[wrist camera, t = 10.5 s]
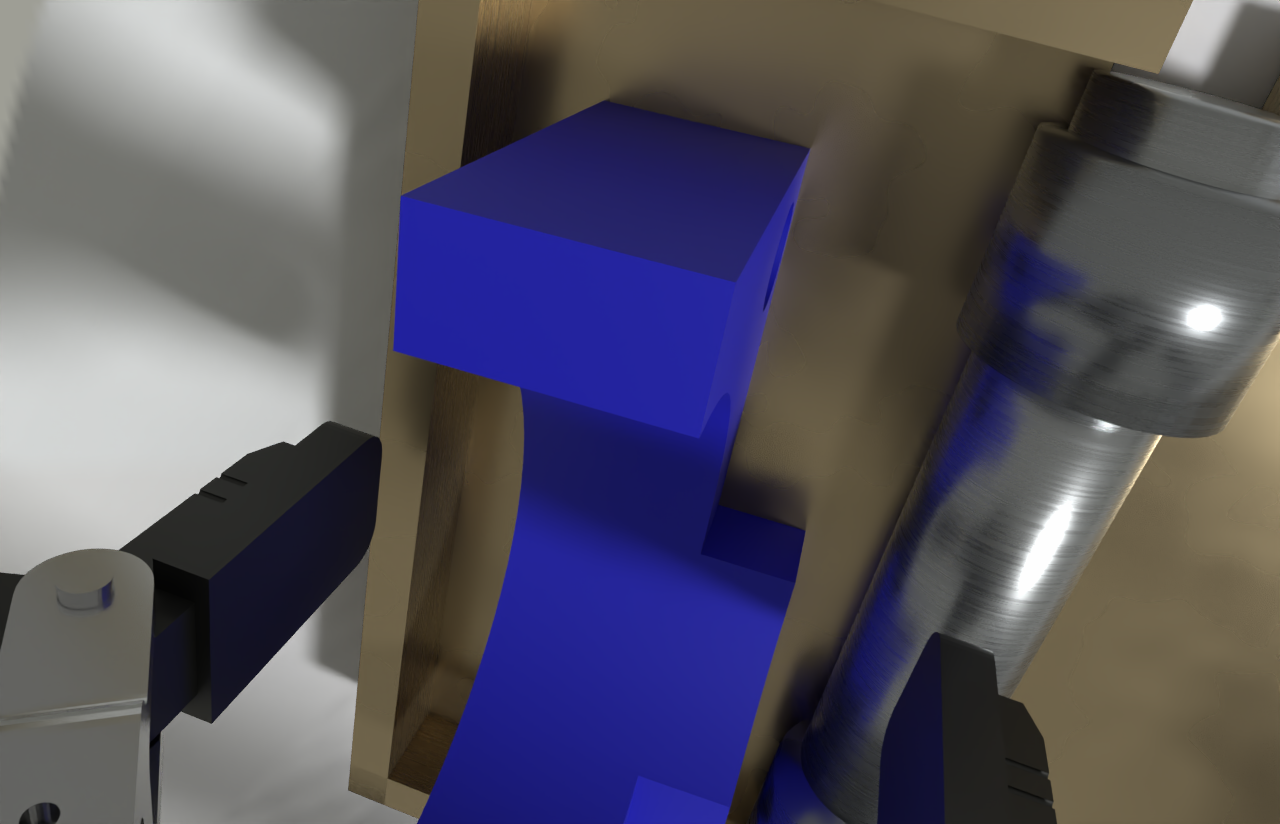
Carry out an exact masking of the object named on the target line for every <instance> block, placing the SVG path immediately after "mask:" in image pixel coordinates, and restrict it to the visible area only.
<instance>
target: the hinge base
mask: <svg viewBox="0 0 1280 824" xmlns="http://www.w3.org/2000/svg"><path fill="white" fill-rule="evenodd" d="M1192 1H1193V0H419V2H418V13H417V24H416V36H415V47H414V58H413V69H412V81H411V92H410V103H409V114H408V126H407V137H406V148H405V159H404V170H403V182H402V193H401V195H403V194H406V193H408V192H410V191H412V190H414V189H416V188H418V187H420V186H423V185H425V184H427V183H429V182H431V181H433V180H435V179H437V178H440V177H442V176H444V175H446V174H448V173H450V172H452V171H455V170H457V169H459V168H461V167H463V166H465V165H467V164H469V163H472V162H474V161H476V160H478V159H480V158H482V157H484V156H486V155H489V154H491V153H493V152H495V151H497V150H499V149H501V148H503V147H506V146H508V145H510V144H512V143H514V142H516V141H518V140H521V139H523V138H525V137H527V136H529V135H531V134H533V133H535V132H538V131H540V130H542V129H544V128H546V127H548V126H550V125H552V124H555V123H557V122H559V121H561V120H563V119H565V118H567V117H569V116H572V115H574V114H576V113H578V112H580V111H582V110H584V109H587V108H589V107H591V106H593V105H595V104H597V103H599V102H601V101H604V100H605V101H609V102H613V103H617V104H622V105H626V106H630V107H634V108H639V109H643V110H647V111H652V112H656V113H660V114H664V115H669V116H673V117H677V118H682V119H686V120H690V121H694V122H699V123H703V124H707V125H711V126H716V127H720V128H724V129H729V130H733V131H737V132H741V133H746V134H750V135H754V136H758V137H763V138H767V139H771V140H776V141H780V142H784V143H788V144H793V145H797V146H801V147H805V148H810V152H809V156H808V160H807V164H806V168H805V172H804V176H803V180H802V183H801V187H800V191H799V195H798V199H797V203H796V207H795V211H794V214H793V218H792V222H791V226H790V230H789V234H788V238H787V242H786V245H785V249H784V253H783V257H782V261H781V265H780V269H779V272H778V276H777V280H776V284H775V288H774V292H773V296H772V300H771V303H770V307H769V311H768V315H767V319H766V323H765V327H764V331H763V334H762V338H761V342H760V346H759V350H758V354H757V358H756V362H755V365H754V369H753V373H752V377H751V381H750V385H749V389H748V393H747V396H746V400H745V404H744V408H743V412H742V416H741V420H740V424H739V427H738V431H737V435H736V439H735V443H734V447H733V451H732V455H731V458H730V462H729V466H728V470H727V474H726V478H725V482H724V486H723V489H722V493H721V497H720V501H719V505H721V506H724V507H728V508H731V509H734V510H738V511H741V512H744V513H748V514H751V515H755V516H758V517H761V518H765V519H768V520H771V521H775V522H778V523H781V524H785V525H788V526H791V527H795V528H798V529H801V530H805V531H806V532H805V537H804V543H803V548H802V553H801V558H800V563H799V568H798V573H797V578H796V583H795V586H794V589H793V593H792V596H791V599H790V602H789V605H788V608H787V612H786V615H785V618H784V621H783V624H782V628H781V631H780V634H779V638H778V641H777V644H776V647H775V651H774V654H773V658H772V661H771V664H770V668H769V671H768V674H767V678H766V681H765V685H764V688H763V692H762V695H761V698H760V702H759V705H758V709H757V712H756V716H755V719H754V723H753V726H752V730H751V734H750V737H749V741H748V744H747V748H746V751H745V755H744V759H743V762H742V766H741V770H740V773H739V777H738V781H737V784H736V788H735V792H734V795H733V799H732V803H731V807H730V810H729V813H728V816H727V819H726V822H725V824H877V816H878V796H879V777H880V759H881V750H882V745H883V740H884V736H885V732H886V728H887V725H888V722H889V719H890V717H891V714H892V712H893V710H894V708H895V706H896V704H897V702H898V699H899V697H900V695H901V693H902V691H903V689H904V687H905V685H906V683H907V681H908V679H909V677H910V675H911V673H912V671H913V669H914V667H915V665H916V663H917V661H918V659H919V657H920V655H921V653H922V651H923V649H924V647H925V645H926V643H927V641H928V639H929V638H930V636H931V635H932V634H933V633H934V632H938V633H941V634H944V635H947V636H950V637H953V638H956V639H959V640H962V641H964V642H967V643H970V644H973V645H976V646H979V647H982V648H985V649H988V650H990V651H992V652H993V654H994V658H995V665H996V675H997V685H998V695H1001V696H1004V697H1007V698H1010V699H1013V700H1016V701H1018V702H1021V703H1023V704H1024V706H1025V707H1026V709H1027V711H1028V712H1029V714H1030V716H1031V717H1032V719H1033V721H1034V723H1035V724H1036V726H1037V728H1038V729H1039V731H1040V733H1041V735H1042V736H1043V738H1044V742H1045V748H1046V755H1047V761H1048V768H1049V775H1048V779H1049V780H1050V781H1051V787H1052V794H1053V800H1054V802H1053V805H1052V808H1053V809H1055V813H1056V819H1057V824H1280V76H1279V78H1278V79H1277V81H1276V83H1275V85H1274V87H1273V89H1272V91H1271V93H1270V95H1269V96H1268V98H1267V100H1266V102H1265V104H1264V106H1263V108H1262V109H1259V108H1255V107H1252V106H1249V105H1245V104H1242V103H1238V102H1235V101H1231V100H1228V99H1224V98H1221V97H1217V96H1214V95H1210V94H1206V93H1202V92H1199V91H1195V90H1191V89H1187V88H1184V87H1180V86H1176V85H1172V84H1168V83H1164V82H1160V81H1156V80H1151V79H1147V78H1143V77H1138V76H1134V75H1129V74H1124V73H1119V72H1114V71H1111V69H1112V67H1113V64H1114V63H1117V64H1121V65H1125V66H1129V67H1133V68H1137V69H1141V70H1145V71H1149V72H1153V73H1156V74H1159V72H1160V70H1161V68H1162V65H1163V63H1164V61H1165V59H1166V57H1167V55H1168V53H1169V50H1170V48H1171V46H1172V44H1173V42H1174V40H1175V38H1176V36H1177V33H1178V31H1179V29H1180V27H1181V25H1182V23H1183V21H1184V18H1185V16H1186V14H1187V12H1188V10H1189V8H1190V6H1191V3H1192ZM399 222H400V215H399ZM398 242H399V227H398V238H397V249H396V260H395V272H394V283H393V294H392V305H391V316H390V328H389V339H388V350H387V361H386V373H385V384H384V395H383V406H382V418H381V429H380V441H381V443H382V461H381V472H380V483H379V494H378V505H377V516H376V525H375V530H374V534H373V537H372V540H371V542H370V552H369V564H368V575H367V586H366V597H365V608H364V620H363V631H362V642H361V653H360V665H359V676H358V687H357V698H356V710H355V721H354V732H353V743H352V754H351V766H350V777H349V788H348V790H349V791H351V792H354V793H356V794H359V795H361V796H364V797H366V798H368V799H371V800H373V801H376V802H378V803H381V804H383V805H386V806H388V807H391V808H393V809H396V810H398V811H401V812H403V813H406V814H408V815H411V816H413V817H416V818H418V819H419V818H420V816H421V814H422V812H423V809H424V807H425V805H426V803H427V801H428V799H429V796H430V794H431V792H432V789H433V787H434V785H435V782H436V780H437V778H438V775H439V773H440V771H441V768H442V766H443V763H444V761H445V758H446V756H447V753H448V751H449V749H450V746H451V744H452V741H453V739H454V736H455V733H456V731H457V728H458V725H459V723H460V720H461V717H462V715H463V712H464V709H465V707H466V704H467V701H468V698H469V695H470V693H471V690H472V687H473V684H474V681H475V678H476V675H477V672H478V669H479V666H480V663H481V660H482V657H483V654H484V650H485V647H486V644H487V641H488V637H489V634H490V630H491V627H492V624H493V620H494V617H495V613H496V609H497V605H498V602H499V598H500V594H501V590H502V586H503V582H504V578H505V573H506V569H507V565H508V560H509V555H510V551H511V546H512V541H513V536H514V530H515V524H516V518H517V512H518V505H519V497H520V490H521V480H522V469H523V453H524V416H523V405H522V395H521V390H520V387H518V386H514V385H511V384H507V383H504V382H500V381H497V380H493V379H490V378H486V377H483V376H479V375H476V374H472V373H469V372H465V371H462V370H459V369H455V368H452V367H448V366H445V365H441V364H438V363H434V362H431V361H427V360H424V359H420V358H417V357H413V356H410V355H406V354H403V353H399V352H396V351H393V345H394V325H395V304H396V284H397V263H398Z"/></svg>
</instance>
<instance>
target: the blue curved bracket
mask: <svg viewBox="0 0 1280 824" xmlns="http://www.w3.org/2000/svg"><path fill="white" fill-rule="evenodd" d="M809 152H810V148H805V147H801V146H797V145H793V144H788V143H784V142H780V141H776V140H771V139H767V138H763V137H758V136H754V135H750V134H746V133H741V132H737V131H733V130H729V129H724V128H720V127H716V126H711V125H707V124H703V123H699V122H694V121H690V120H686V119H682V118H677V117H673V116H669V115H664V114H660V113H656V112H652V111H647V110H643V109H639V108H634V107H630V106H626V105H622V104H617V103H613V102H609V101H605V100H604V101H601V102H599V103H597V104H595V105H593V106H591V107H589V108H587V109H584V110H582V111H580V112H578V113H576V114H574V115H572V116H569V117H567V118H565V119H563V120H561V121H559V122H557V123H555V124H552V125H550V126H548V127H546V128H544V129H542V130H540V131H538V132H535V133H533V134H531V135H529V136H527V137H525V138H523V139H521V140H518V141H516V142H514V143H512V144H510V145H508V146H506V147H503V148H501V149H499V150H497V151H495V152H493V153H491V154H489V155H486V156H484V157H482V158H480V159H478V160H476V161H474V162H472V163H469V164H467V165H465V166H463V167H461V168H459V169H457V170H455V171H452V172H450V173H448V174H446V175H444V176H442V177H440V178H437V179H435V180H433V181H431V182H429V183H427V184H425V185H423V186H420V187H418V188H416V189H414V190H412V191H410V192H408V193H406V194H403V195H401V201H400V222H399V242H398V263H397V284H396V304H395V325H394V345H393V351H396V352H399V353H403V354H406V355H410V356H413V357H417V358H420V359H424V360H427V361H431V362H434V363H438V364H441V365H445V366H448V367H452V368H455V369H459V370H462V371H465V372H469V373H472V374H476V375H479V376H483V377H486V378H490V379H493V380H497V381H500V382H504V383H507V384H511V385H514V386H518V387H520V390H521V395H522V405H523V416H524V453H523V469H522V480H521V490H520V497H519V505H518V512H517V518H516V524H515V530H514V536H513V541H512V546H511V551H510V555H509V560H508V565H507V569H506V573H505V578H504V582H503V586H502V590H501V594H500V598H499V602H498V605H497V609H496V613H495V617H494V620H493V624H492V627H491V630H490V634H489V637H488V641H487V644H486V647H485V650H484V654H483V657H482V660H481V663H480V666H479V669H478V672H477V675H476V678H475V681H474V684H473V687H472V690H471V693H470V695H469V698H468V701H467V704H466V707H465V709H464V712H463V715H462V717H461V720H460V723H459V725H458V728H457V731H456V733H455V736H454V739H453V741H452V744H451V746H450V749H449V751H448V753H447V756H446V758H445V761H444V763H443V766H442V768H441V771H440V773H439V775H438V778H437V780H436V782H435V785H434V787H433V789H432V792H431V794H430V796H429V799H428V801H427V803H426V805H425V807H424V809H423V812H422V814H421V816H420V818H419V820H418V823H417V824H725V822H726V819H727V816H728V813H729V810H730V807H731V803H732V799H733V795H734V792H735V788H736V784H737V781H738V777H739V773H740V770H741V766H742V762H743V759H744V755H745V751H746V748H747V744H748V741H749V737H750V734H751V730H752V726H753V723H754V719H755V716H756V712H757V709H758V705H759V702H760V698H761V695H762V692H763V688H764V685H765V681H766V678H767V674H768V671H769V668H770V664H771V661H772V658H773V654H774V651H775V647H776V644H777V641H778V638H779V634H780V631H781V628H782V624H783V621H784V618H785V615H786V612H787V608H788V605H789V602H790V599H791V596H792V593H793V589H794V586H795V583H796V578H797V573H798V568H799V563H800V558H801V553H802V548H803V543H804V537H805V532H806V531H805V530H801V529H798V528H795V527H791V526H788V525H785V524H781V523H778V522H775V521H771V520H768V519H765V518H761V517H758V516H755V515H751V514H748V513H744V512H741V511H738V510H734V509H731V508H728V507H724V506H721V505H719V501H720V497H721V493H722V489H723V486H724V482H725V478H726V474H727V470H728V466H729V462H730V458H731V455H732V451H733V447H734V443H735V439H736V435H737V431H738V427H739V424H740V420H741V416H742V412H743V408H744V404H745V400H746V396H747V393H748V389H749V385H750V381H751V377H752V373H753V369H754V365H755V362H756V358H757V354H758V350H759V346H760V342H761V338H762V334H763V331H764V327H765V323H766V319H767V315H768V311H769V307H770V303H771V300H772V296H773V292H774V288H775V284H776V280H777V276H778V272H779V269H780V265H781V261H782V257H783V253H784V249H785V245H786V242H787V238H788V234H789V230H790V226H791V222H792V218H793V214H794V211H795V207H796V203H797V199H798V195H799V191H800V187H801V183H802V180H803V176H804V172H805V168H806V164H807V160H808V156H809Z"/></svg>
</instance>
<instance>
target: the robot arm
mask: <svg viewBox="0 0 1280 824" xmlns="http://www.w3.org/2000/svg"><path fill="white" fill-rule="evenodd" d="M381 461H382V443H381V441H380V439H379V438H378V437H375V436H372V435H370V434H367V433H364V432H361V431H358V430H355V429H352V428H349V427H346V426H343V425H341V424H338V423H335V422H332V421H329V422H326V423H324V424H322V425H321V426H319V427H318V428H317V429H316V430H314V431H313V432H312V433H311V434H309V435H308V436H307V437H306V438H304V439H303V440H302V441H300V442H299V443H298V444H297V445H295V446H294V445H291V444H289V443H286V442H281V443H278V444H275V445H272V446H269V447H266V448H263V449H261V450H258V451H255V452H252V453H249V454H247V455H246V456H244V457H243V458H242V459H240V460H239V461H238V462H236V463H235V464H233V465H232V466H231V467H229V468H228V469H227V470H225V471H224V472H223V473H221V477H220V478H217V477H216V478H215V479H213V480H212V481H211V482H209V483H208V484H207V485H205V486H204V487H203V488H201V489H200V492H199V494H193V495H192V496H191V497H189V498H188V499H187V500H185V501H184V502H183V503H181V504H180V505H179V506H177V507H176V508H175V509H173V510H172V511H171V512H169V513H168V514H167V515H165V516H164V517H163V518H161V519H160V520H159V521H157V522H156V523H154V524H153V525H152V526H150V527H149V528H148V529H146V530H145V531H144V532H142V533H141V534H140V535H138V536H137V537H136V538H134V539H133V540H132V541H130V542H129V543H128V544H126V545H125V546H124V547H122V548H121V549H120V550H113V549H85V550H78V551H73V552H68V553H65V554H62V555H58V556H56V557H53V558H51V559H48V560H46V561H44V562H42V563H41V564H39V565H37V566H36V567H34V568H33V569H32V570H30V571H29V572H28V573H27V574H26V575H18V574H9V573H0V824H160V810H161V785H162V760H163V729H164V728H165V727H166V726H167V725H168V724H169V723H170V722H171V721H172V720H173V719H174V718H175V717H176V716H177V715H178V714H179V713H180V712H184V713H186V714H189V715H191V716H194V717H196V718H199V719H201V720H204V721H206V722H209V723H211V724H212V723H213V722H214V721H215V720H216V719H217V717H218V716H219V715H220V714H221V713H222V712H223V711H224V710H225V709H226V708H227V707H228V705H229V704H230V703H231V702H232V701H233V700H234V699H235V698H236V697H237V696H238V695H239V693H240V692H241V691H242V690H243V689H244V688H245V687H246V686H247V685H248V684H249V683H250V682H251V680H252V679H253V678H254V677H255V676H256V675H257V674H258V673H259V672H260V671H261V670H262V668H263V667H264V666H265V665H266V664H267V663H268V662H269V661H270V660H271V659H272V658H273V656H274V655H275V654H276V653H277V652H278V651H279V650H280V649H281V648H282V647H283V646H284V644H285V643H286V642H287V641H288V640H289V639H290V638H291V637H292V636H293V635H294V634H295V633H296V631H297V630H298V629H299V628H300V627H301V626H302V625H303V624H304V623H305V622H306V621H307V619H308V618H309V617H310V616H311V615H312V614H313V613H314V612H315V611H316V610H317V609H318V607H319V606H320V605H321V604H322V603H323V602H324V601H325V600H326V599H327V598H328V597H329V595H330V594H331V593H332V592H333V591H334V590H335V589H336V588H337V587H338V586H339V585H340V584H341V582H342V581H343V580H344V579H345V578H346V577H347V576H348V575H349V574H350V573H351V572H352V570H353V569H354V568H355V567H356V566H357V565H358V564H359V562H360V561H361V560H362V558H363V556H364V555H365V553H366V551H367V549H368V547H369V545H370V542H371V540H372V537H373V534H374V530H375V525H376V516H377V505H378V494H379V483H380V472H381ZM1048 775H1049V768H1048V761H1047V755H1046V748H1045V742H1044V738H1043V736H1042V735H1041V733H1040V731H1039V729H1038V728H1037V726H1036V724H1035V723H1034V721H1033V719H1032V717H1031V716H1030V714H1029V712H1028V711H1027V709H1026V707H1025V706H1024V704H1023V703H1021V702H1018V701H1016V700H1013V699H1010V698H1007V697H1004V696H1001V695H998V685H997V675H996V665H995V658H994V654H993V652H992V651H990V650H988V649H985V648H982V647H979V646H976V645H973V644H970V643H967V642H964V641H962V640H959V639H956V638H953V637H950V636H947V635H944V634H941V633H938V632H934V633H933V634H932V635H931V636H930V638H929V639H928V641H927V643H926V645H925V647H924V649H923V651H922V653H921V655H920V657H919V659H918V661H917V663H916V665H915V667H914V669H913V671H912V673H911V675H910V677H909V679H908V681H907V683H906V685H905V687H904V689H903V691H902V693H901V695H900V697H899V699H898V702H897V704H896V706H895V708H894V710H893V712H892V714H891V717H890V719H889V722H888V725H887V728H886V732H885V736H884V740H883V745H882V750H881V759H880V777H879V796H878V816H877V824H1057V819H1056V813H1055V809H1053V808H1052V805H1053V802H1054V800H1053V794H1052V787H1051V781H1050V780H1049V779H1048Z"/></svg>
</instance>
